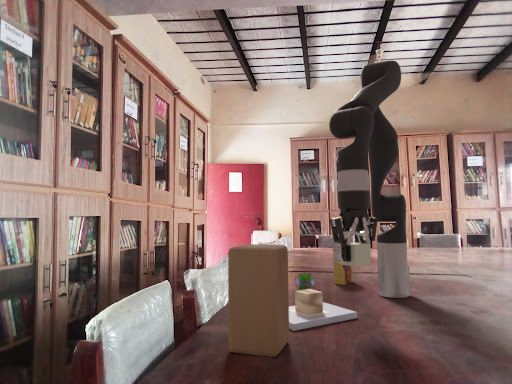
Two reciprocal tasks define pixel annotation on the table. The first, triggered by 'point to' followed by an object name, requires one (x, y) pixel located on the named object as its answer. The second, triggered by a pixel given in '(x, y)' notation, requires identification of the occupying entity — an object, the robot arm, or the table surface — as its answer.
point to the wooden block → (258, 299)
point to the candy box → (341, 268)
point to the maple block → (308, 301)
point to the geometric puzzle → (305, 281)
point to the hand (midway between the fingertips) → (355, 260)
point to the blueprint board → (319, 317)
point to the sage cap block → (358, 255)
